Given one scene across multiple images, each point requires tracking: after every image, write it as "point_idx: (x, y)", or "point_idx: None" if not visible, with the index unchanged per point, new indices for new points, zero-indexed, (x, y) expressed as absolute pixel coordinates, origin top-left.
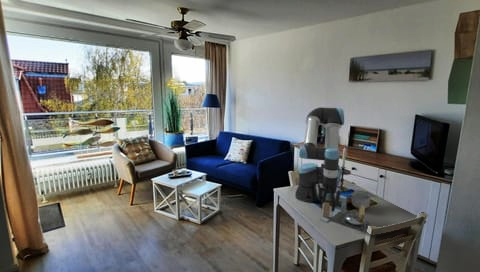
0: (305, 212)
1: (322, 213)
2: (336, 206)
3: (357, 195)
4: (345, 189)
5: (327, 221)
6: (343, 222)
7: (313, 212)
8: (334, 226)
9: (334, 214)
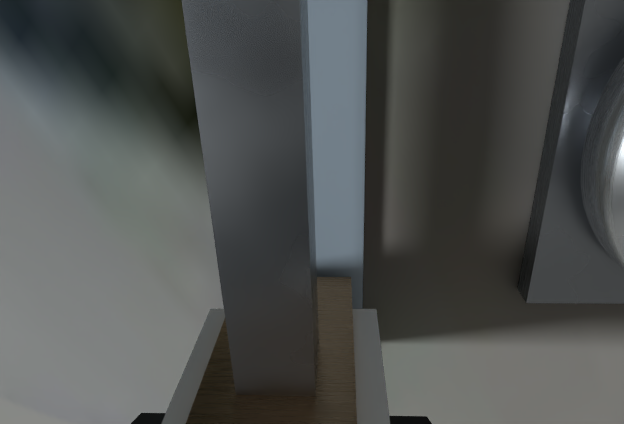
0: (6, 366)
1: None
2: (307, 19)
3: None
4: None
5: None
6: (578, 301)
7: (63, 295)
8: (480, 420)
9: (344, 149)
